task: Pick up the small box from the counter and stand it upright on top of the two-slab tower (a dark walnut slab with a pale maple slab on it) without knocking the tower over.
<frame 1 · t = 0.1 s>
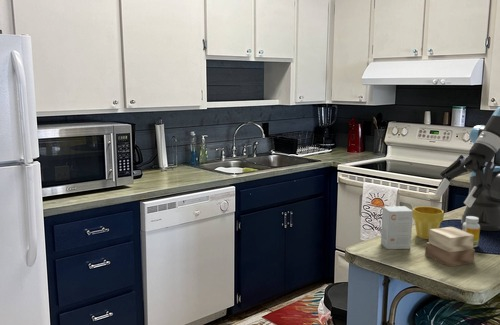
hand: (451, 200, 163), 15 cm above the worktop, tool tilted 35°, fingers open, 13 cm apart
small box: (395, 246, 164), on the worktop
plant pot: (426, 236, 174), on the worktop
supplement bottle: (469, 245, 166), on the worktop
maple slab: (450, 246, 152), point 4 cm above the worktop, touching walnut slab
walnut slab: (448, 259, 153), on the worktop, touching maple slab
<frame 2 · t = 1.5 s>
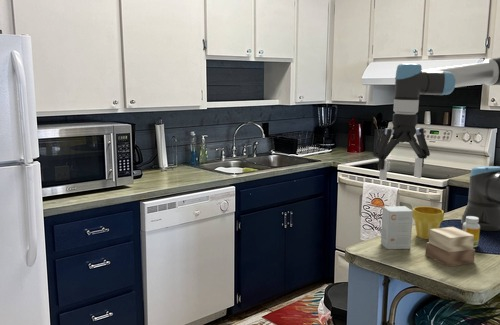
hand: (400, 178, 160), 23 cm above the worktop, tool pointing down, fingers open, 13 cm apart
nothing on the worktop moved.
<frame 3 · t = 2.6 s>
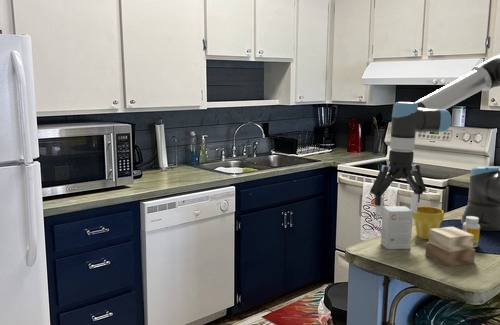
hand: (396, 213, 162), 11 cm above the worktop, tool pointing down, fingers open, 13 cm apart
nothing on the worktop moved.
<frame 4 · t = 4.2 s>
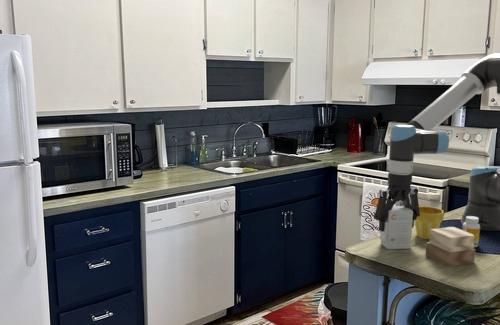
hand: (395, 238, 163), 3 cm above the worktop, tool pointing down, fingers closed on small box, 9 cm apart
small box: (395, 246, 164), on the worktop, touching gripper
everything else where it was.
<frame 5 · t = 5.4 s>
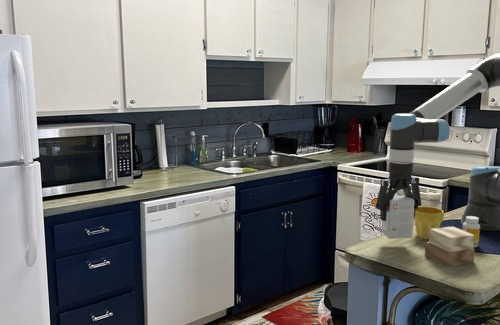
hand: (397, 228, 163), 6 cm above the worktop, tool pointing down, fingers closed on small box, 9 cm apart
small box: (396, 236, 163), point 3 cm above the worktop, touching gripper
everything else where it was.
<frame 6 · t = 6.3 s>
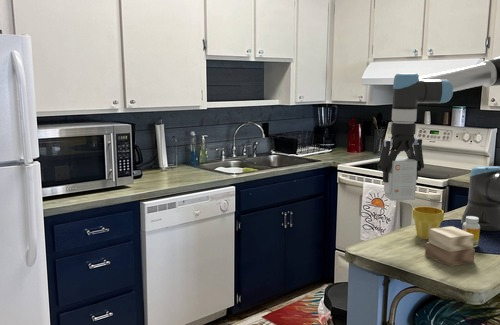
hand: (399, 190, 160), 19 cm above the worktop, tool pointing down, fingers closed on small box, 9 cm apart
small box: (399, 198, 161), point 16 cm above the worktop, touching gripper
everything else where it was.
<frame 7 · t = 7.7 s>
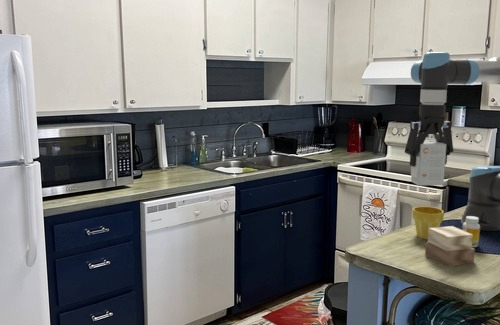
hand: (427, 175, 154), 25 cm above the worktop, tool pointing down, fingers closed on small box, 9 cm apart
small box: (426, 184, 154), point 22 cm above the worktop, touching gripper
everything else where it was.
when the fingers open (13 cm above the worktop, at t = 11.8 s): small box drops 2 cm, point 9 cm above the worktop.
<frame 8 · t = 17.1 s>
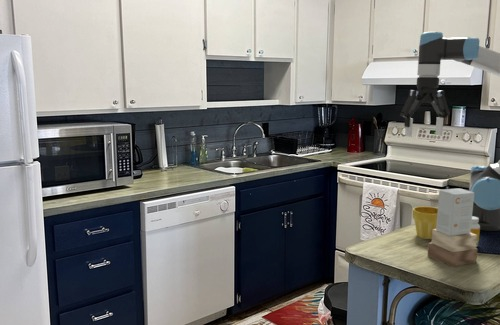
hand: (423, 135, 179), 35 cm above the worktop, tool pointing down, fingers open, 13 cm apart
small box: (452, 232, 151), point 9 cm above the worktop
maple slab: (453, 245, 152), point 4 cm above the worktop, touching walnut slab
at the end: small box 0.6 cm off-centre on the maple slab, point 4.4 cm above the maple slab's base; maple slab 0.2 cm off-centre on the walnut slab, point 4.5 cm above the walnut slab's base; small box tilted 1° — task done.
